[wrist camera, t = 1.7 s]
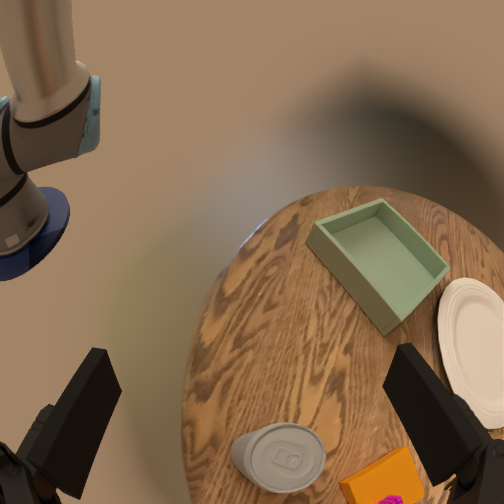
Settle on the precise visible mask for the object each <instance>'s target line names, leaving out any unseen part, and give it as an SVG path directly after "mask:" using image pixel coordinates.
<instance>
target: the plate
mask: <svg viewBox="0 0 504 504" xmlns="http://www.w3.org/2000/svg"><path fill="white" fill-rule="evenodd" d="M437 327H438V343H439V348H440V352H441V357H442V362H443V367H444V370H445V373H446V375H447V378H448V381H449V384H450V387H451V390H452V392H453V394H454V395H455V394H457V395H459V396H460V397H461V398H463V399H464V400H465V401H466V402H467V404H468V405H469V406H470V409H472V411H473V412H474V413H475V416H477V418H478V419H479V420H480V422H481V423H482V425H483V426H484V428H486V429H499V428H501V427H503V426H504V302H503V301H502V299H501V298H500V297H499V296H498V295H497V294H496V293H495V292H494V291H493V290H492V289H490V288H489V287H488V286H487V285H485V284H483V283H481V282H479V281H477V280H475V279H471V278H465V277H463V278H460V279H456V280H453V281H452V282H451V283H450V284H449V285H448V286H447V287H446V288H445V290H444V292H443V294H442V297H441V299H440V301H439V309H438V316H437Z"/></svg>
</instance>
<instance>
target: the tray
mask: <svg viewBox="0 0 504 504" xmlns="http://www.w3.org/2000/svg"><path fill="white" fill-rule="evenodd" d="M306 244H307V246H308V247H309V248H310V249H311V250H312V251H313V252H314V253H315V255H316V256H317V257H318V258H319V259H320V260H321V261H322V263H323V264H324V265H325V266H326V267H327V268H328V270H329V271H330V272H331V273H332V274H333V275H334V277H335V278H336V279H337V280H338V281H339V282H340V284H341V285H342V286H343V287H344V288H345V290H346V291H347V292H348V293H349V294H350V296H351V297H352V298H353V299H354V300H355V302H356V303H357V304H358V305H359V306H360V308H361V309H362V310H363V311H364V313H365V314H366V315H367V316H368V317H369V319H370V320H371V321H372V322H373V324H374V325H375V326H376V327H377V329H378V330H379V331H380V332H381V334H382V335H383V336H386V335H387V334H388V333H389V332H390V331H392V330H393V329H394V328H395V327H396V326H398V325H399V324H400V323H401V322H402V321H403V320H404V319H405V318H406V317H407V316H408V315H409V314H410V313H411V312H412V311H413V310H414V309H415V308H416V307H417V306H418V305H419V304H420V303H421V302H422V301H423V300H424V298H425V297H426V296H427V295H428V294H429V293H430V292H431V291H432V290H433V289H434V287H435V286H436V285H437V284H438V283H439V282H440V281H441V279H442V278H443V277H444V276H445V275H446V274H447V272H448V271H449V270H450V269H451V267H450V266H449V265H448V264H447V263H446V261H445V260H444V259H443V258H442V257H441V256H440V255H439V254H438V253H437V252H436V250H435V249H434V248H433V247H432V246H431V245H430V244H429V243H428V242H427V241H426V240H425V239H424V238H423V237H422V236H421V235H420V234H419V233H418V232H417V231H416V230H415V229H414V228H413V227H412V226H411V225H410V224H409V223H408V222H407V221H406V220H405V219H404V218H403V217H402V216H401V215H400V214H399V213H398V212H397V211H396V210H395V209H394V208H392V207H391V206H390V205H389V204H388V203H387V202H386V201H385V200H384V199H383V198H381V199H378V200H375V201H373V202H370V203H367V204H364V205H361V206H358V207H356V208H353V209H350V210H347V211H344V212H341V213H339V214H336V215H333V216H330V217H327V218H325V219H322V220H319V221H316V222H314V224H313V226H312V229H311V231H310V233H309V236H308V238H307V241H306Z"/></svg>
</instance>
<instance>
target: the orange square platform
mask: <svg viewBox="0 0 504 504" xmlns="http://www.w3.org/2000/svg"><path fill="white" fill-rule="evenodd" d="M340 485H341V487H342V490H343V492H344V495H345V497H346V499H347V502H348V504H415V503H417V502H418V501H419V500H420V499H422V498H423V497H424V496H425V492H424V489H423V486H422V483H421V480H420V478H419V475H418V472H417V469H416V467H415V464H414V461H413V459H412V456H411V453H410V451H409V448H408V446H405V447H400V448H396V449H394V450H393V451H391V452H390V453H388V454H387V455H385V456H384V457H382V458H381V459H379V460H377V461H376V462H374V463H372V464H371V465H369V466H368V467H366V468H364V469H362V470H361V471H359V472H357V473H355V474H353V475H352V476H350V477H348V478H346V479H344V480H342V481H340Z"/></svg>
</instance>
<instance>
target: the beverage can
mask: <svg viewBox="0 0 504 504" xmlns="http://www.w3.org/2000/svg"><path fill="white" fill-rule="evenodd" d="M230 455H231V460H232V462H233V464H234V465H235V466H236V468H237V469H238V470H239V471H240V472H241V473H242V474H243V475H244V476H245V477H247V478H248V479H249V480H250V481H251V482H253V483H254V484H255V485H256V486H258V487H260V488H262V489H264V490H265V491H269V492H273V493H293V492H297V491H300V490H302V489H304V488H306V487H308V486H310V485H311V484H312V483H313V482H314V481H315V480H317V478H318V477H319V476H320V474H321V473H322V471H323V468H324V465H325V462H326V451H325V447H324V444H323V442H322V440H321V439H320V437H319V436H318V435H317V434H316V433H315V432H314V431H313V430H311V429H309V428H307V427H306V426H302V425H299V424H295V423H285V422H282V423H277V424H272V425H269V426H266V427H263V428H261V429H258V430H255V431H252V432H249V433H246V434H243V435H241V436H240V437H238V438H237V439H236V440H235V441H234V443H233V445H232V447H231V452H230Z"/></svg>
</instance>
